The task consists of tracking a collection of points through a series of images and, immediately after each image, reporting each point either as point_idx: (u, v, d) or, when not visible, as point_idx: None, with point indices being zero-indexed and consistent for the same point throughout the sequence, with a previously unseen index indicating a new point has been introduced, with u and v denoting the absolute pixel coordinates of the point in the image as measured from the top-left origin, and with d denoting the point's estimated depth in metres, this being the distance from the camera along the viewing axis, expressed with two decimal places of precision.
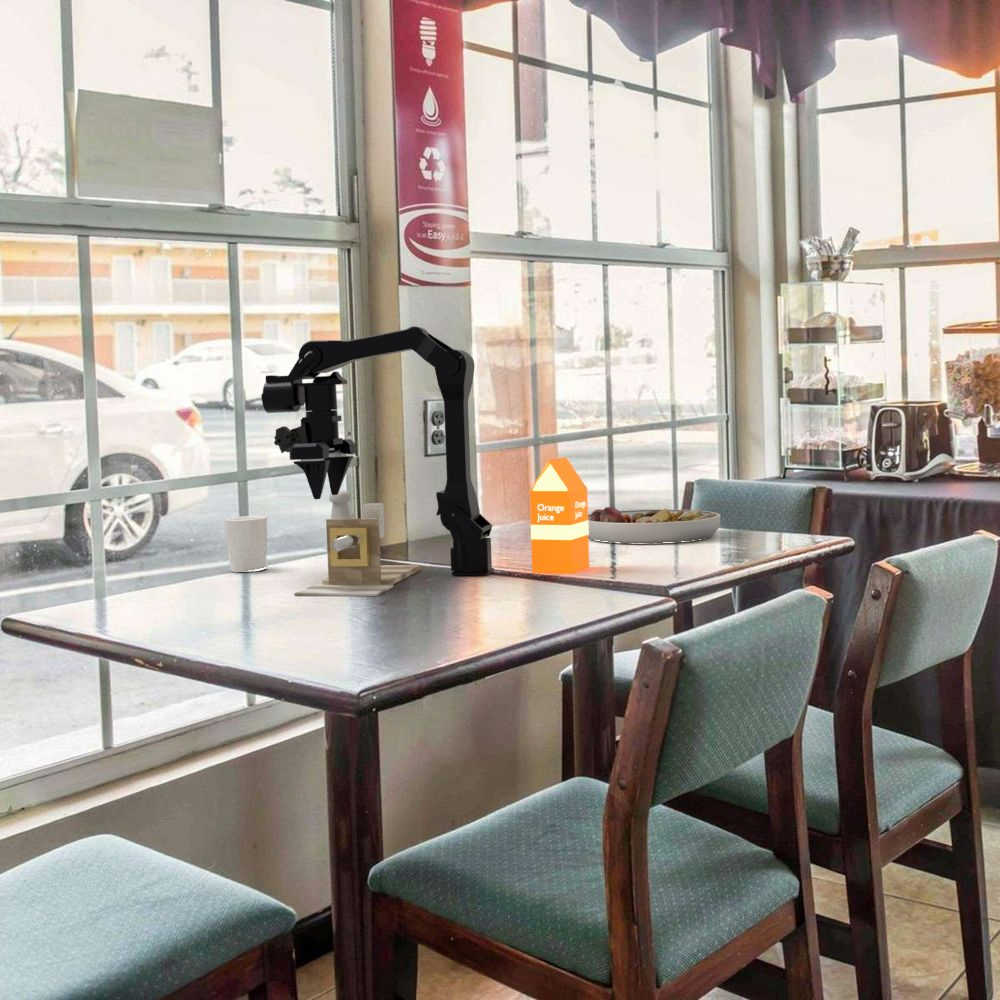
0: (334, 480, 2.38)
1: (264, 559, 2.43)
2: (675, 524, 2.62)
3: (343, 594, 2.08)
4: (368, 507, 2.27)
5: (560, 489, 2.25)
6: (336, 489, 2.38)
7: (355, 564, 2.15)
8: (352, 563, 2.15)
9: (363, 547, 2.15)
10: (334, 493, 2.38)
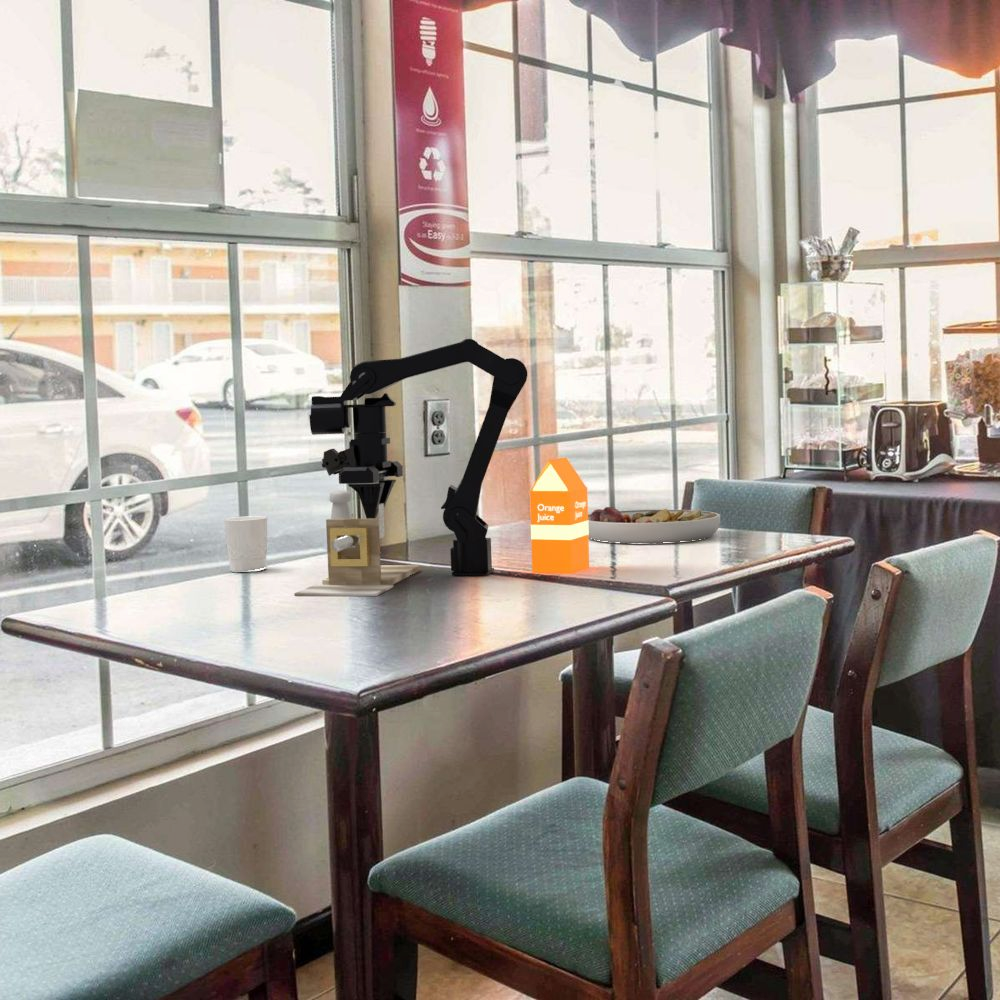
0: None
1: (264, 559, 2.43)
2: (675, 524, 2.62)
3: (343, 594, 2.08)
4: None
5: (560, 489, 2.25)
6: None
7: (355, 564, 2.15)
8: (352, 563, 2.15)
9: (363, 547, 2.15)
10: None
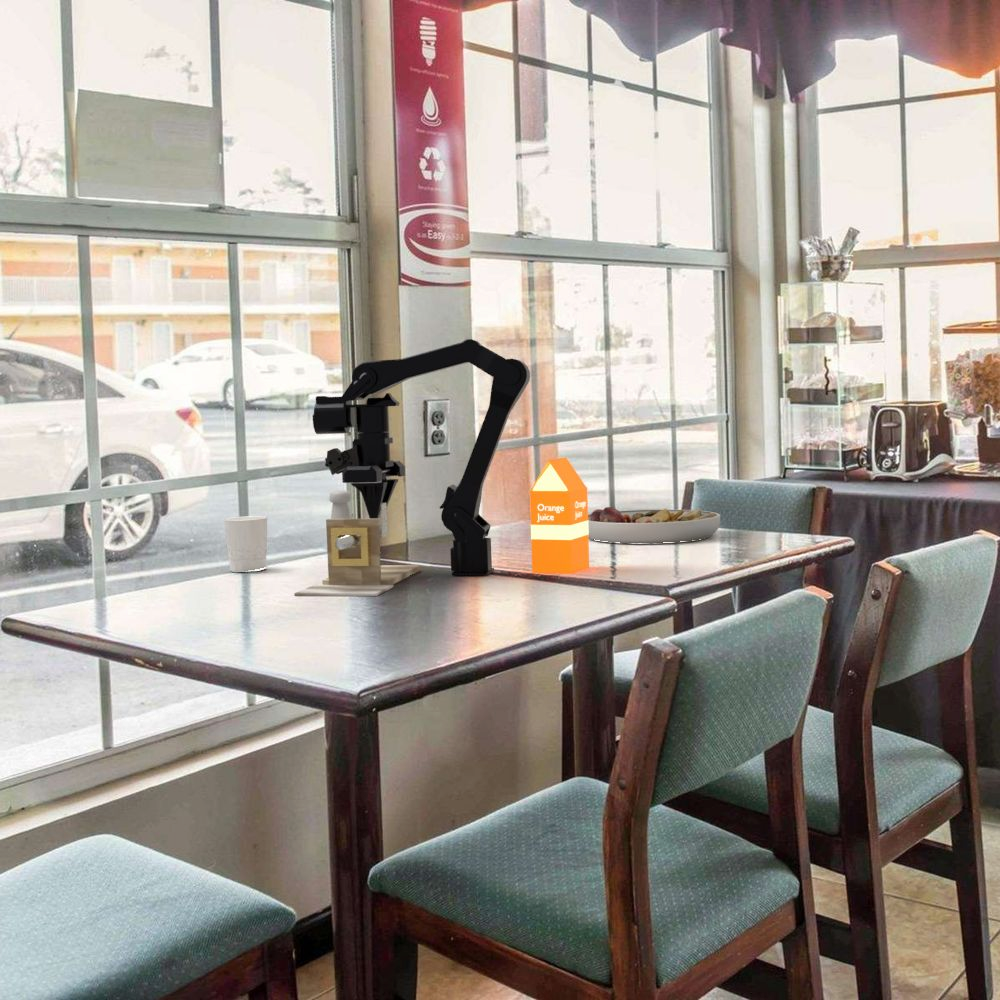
0: None
1: (264, 559, 2.43)
2: (674, 524, 2.62)
3: (343, 594, 2.08)
4: None
5: (560, 489, 2.25)
6: None
7: (356, 564, 2.16)
8: (353, 563, 2.16)
9: (364, 547, 2.15)
10: None
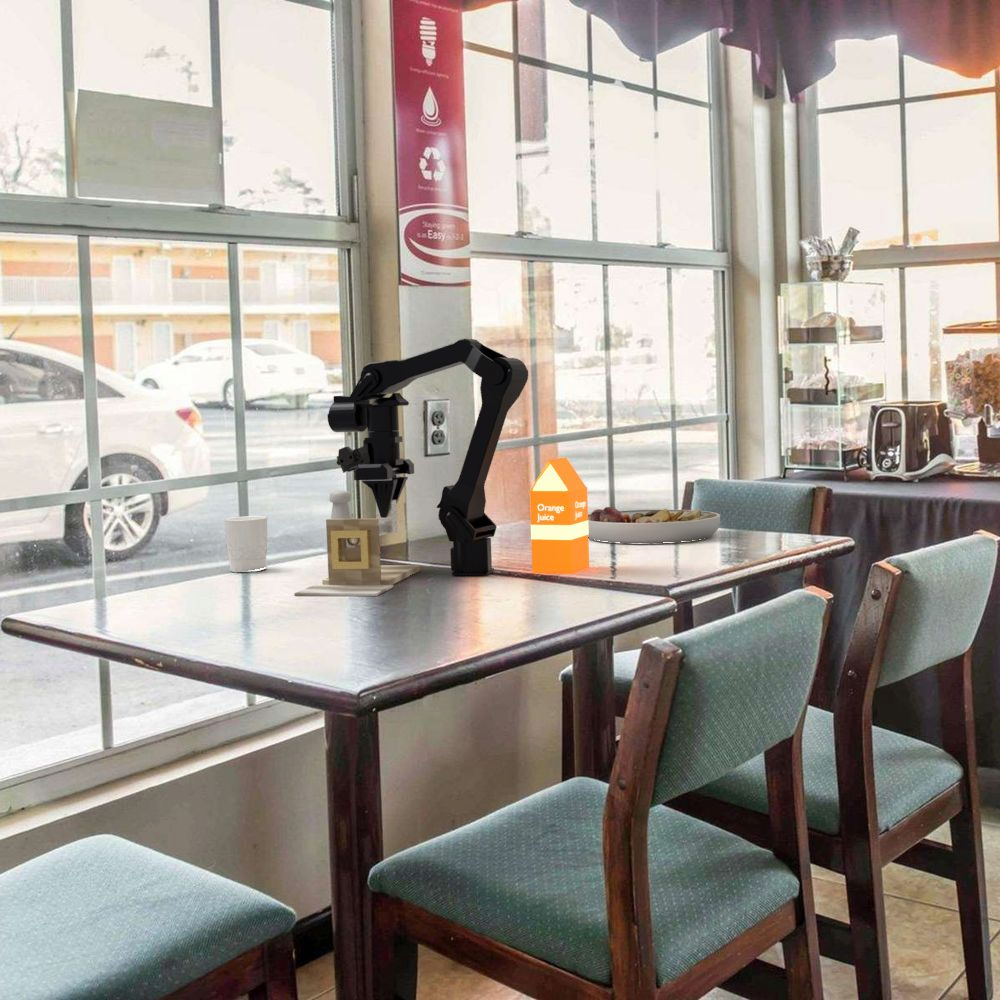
0: None
1: (264, 559, 2.43)
2: (674, 524, 2.62)
3: (343, 594, 2.08)
4: None
5: (560, 489, 2.25)
6: None
7: (356, 566, 2.16)
8: (353, 566, 2.16)
9: (364, 550, 2.15)
10: None
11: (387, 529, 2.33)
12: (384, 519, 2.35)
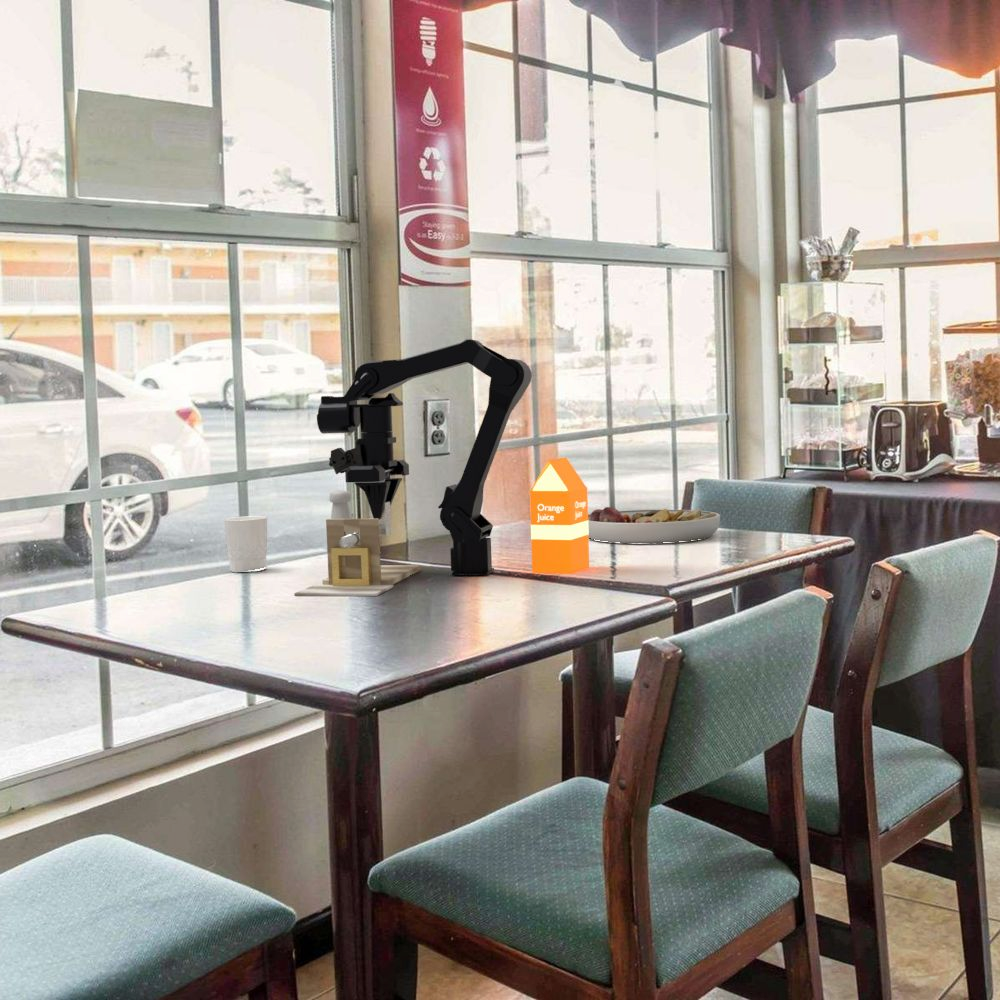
0: None
1: (264, 559, 2.43)
2: (674, 524, 2.62)
3: (343, 594, 2.08)
4: None
5: (560, 489, 2.25)
6: None
7: (357, 584, 2.16)
8: (354, 583, 2.16)
9: (364, 567, 2.15)
10: None
11: (380, 532, 2.29)
12: None
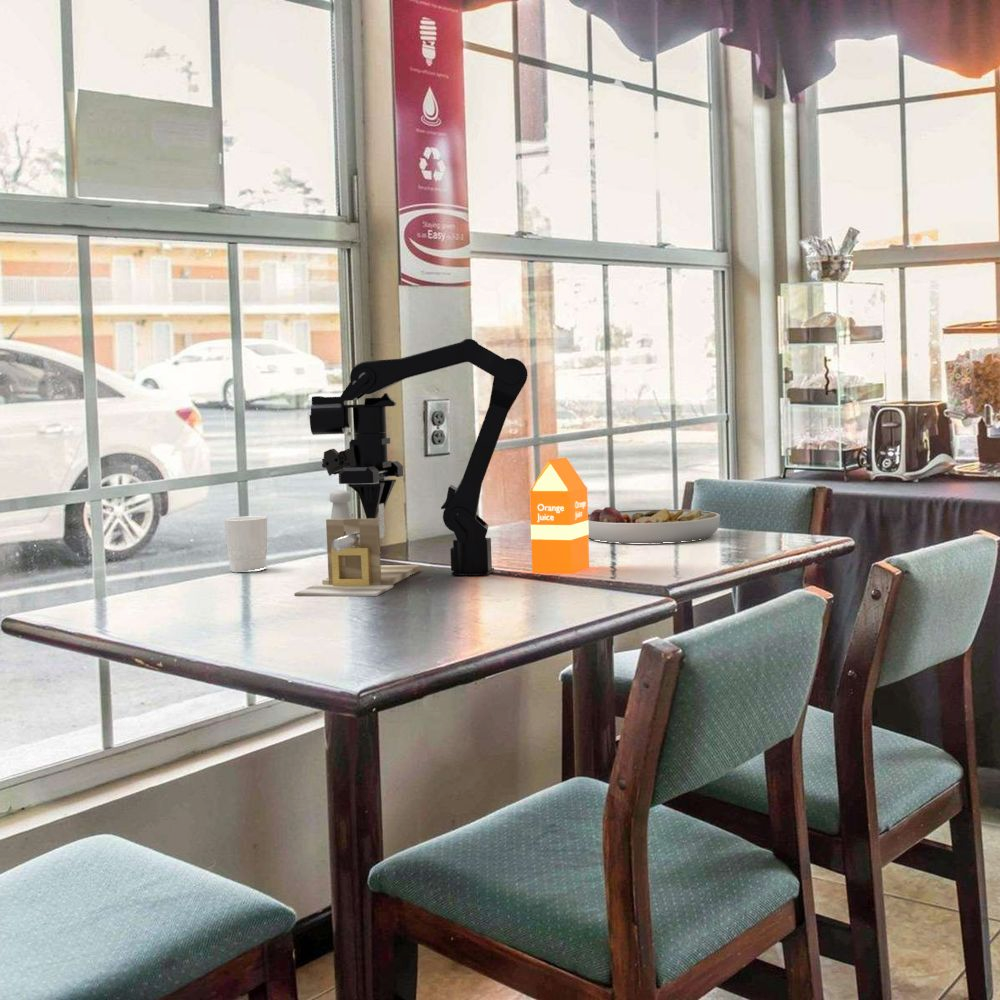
0: None
1: (264, 559, 2.43)
2: (674, 524, 2.62)
3: (343, 594, 2.08)
4: None
5: (560, 489, 2.25)
6: None
7: (357, 584, 2.16)
8: (354, 583, 2.16)
9: (364, 567, 2.15)
10: None
11: None
12: None
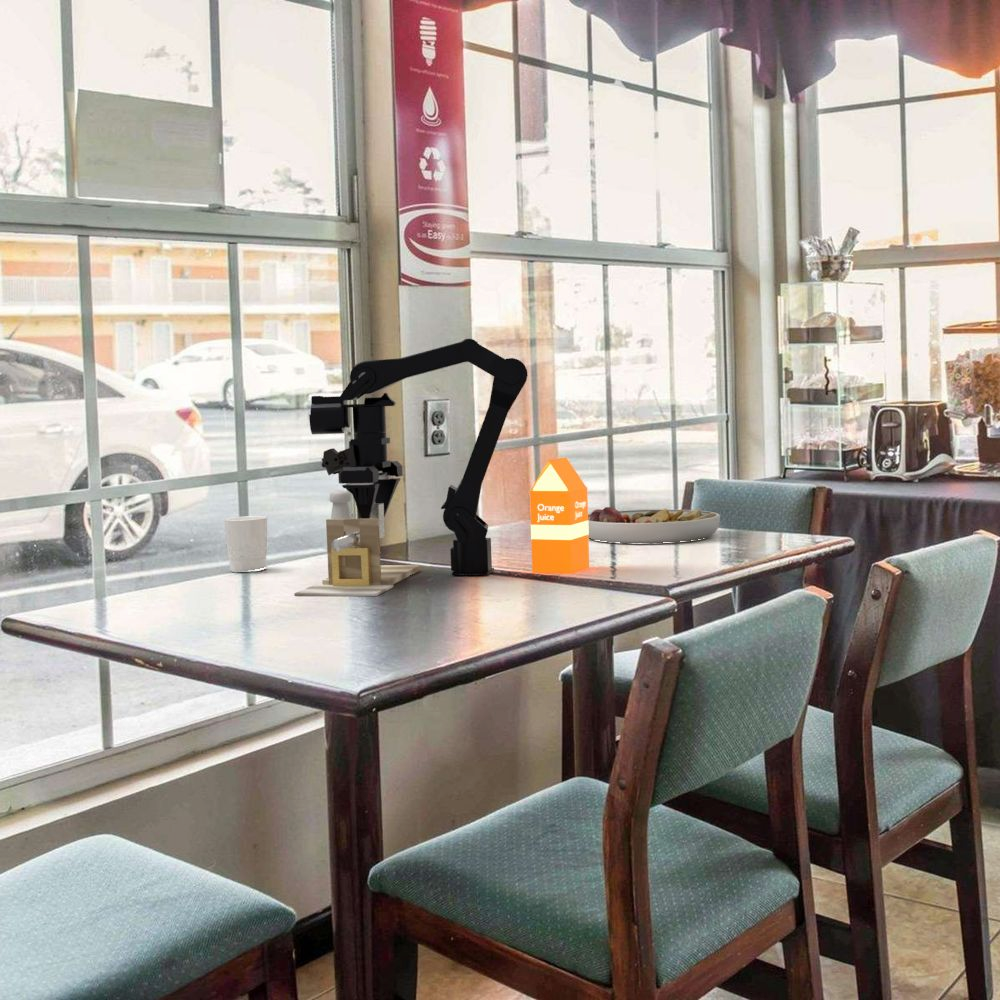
0: None
1: (264, 559, 2.43)
2: (674, 524, 2.62)
3: (343, 594, 2.08)
4: None
5: (560, 489, 2.26)
6: None
7: (357, 584, 2.16)
8: (354, 583, 2.16)
9: (364, 567, 2.15)
10: None
11: None
12: None
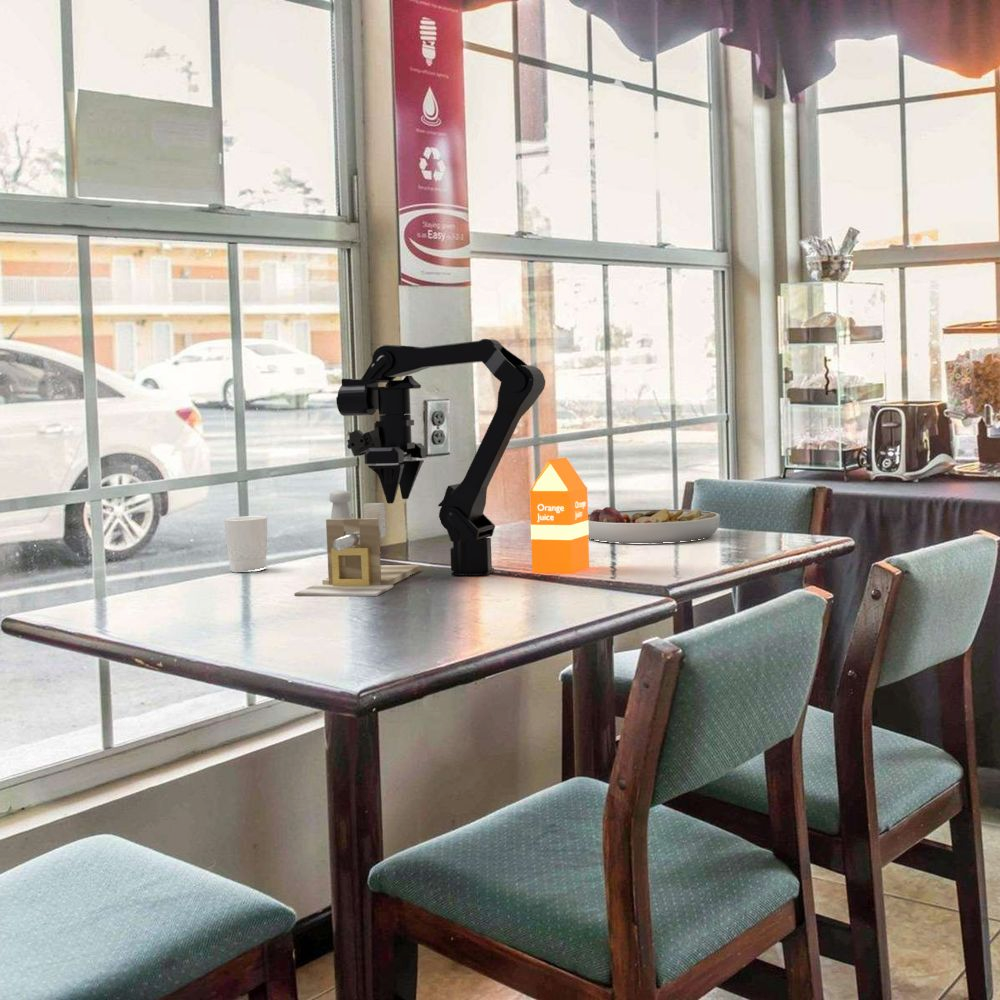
0: (405, 484, 2.37)
1: (264, 559, 2.43)
2: (674, 524, 2.62)
3: (343, 594, 2.08)
4: (369, 507, 2.28)
5: (560, 489, 2.25)
6: (407, 493, 2.37)
7: (357, 584, 2.16)
8: (354, 583, 2.16)
9: (364, 567, 2.15)
10: (404, 497, 2.37)
11: None
12: None
